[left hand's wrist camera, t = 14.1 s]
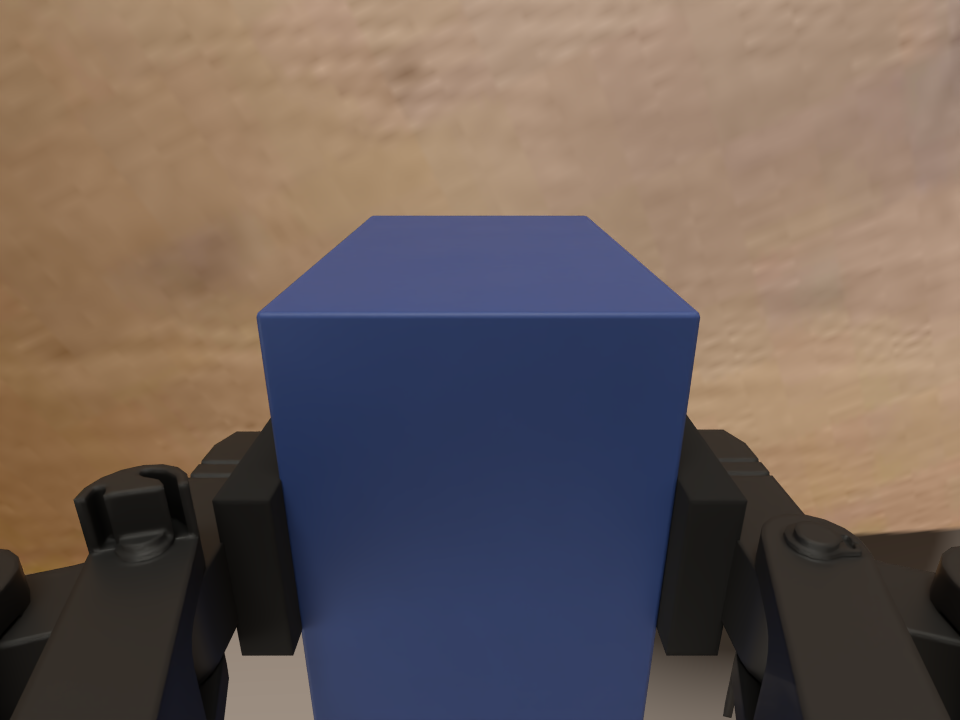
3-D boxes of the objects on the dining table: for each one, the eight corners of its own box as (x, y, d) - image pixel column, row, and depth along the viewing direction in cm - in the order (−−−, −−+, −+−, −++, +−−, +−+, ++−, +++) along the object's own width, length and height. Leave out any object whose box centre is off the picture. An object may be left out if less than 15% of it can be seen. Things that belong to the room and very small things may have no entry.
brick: (570, 476, 18) (640, 749, 10) (387, 477, 18) (316, 749, 10) (587, 215, 15) (703, 313, 7) (370, 215, 15) (253, 312, 7)
